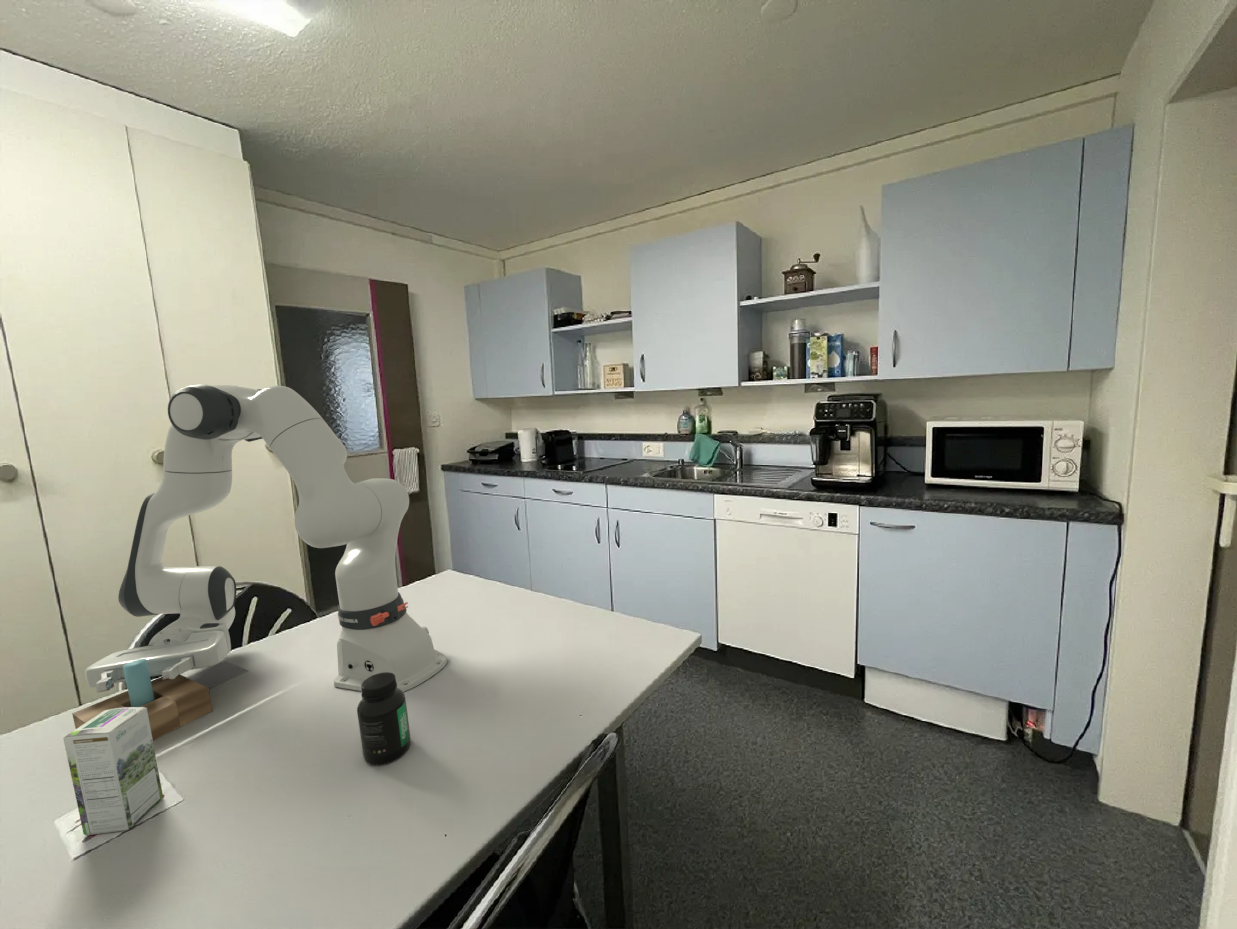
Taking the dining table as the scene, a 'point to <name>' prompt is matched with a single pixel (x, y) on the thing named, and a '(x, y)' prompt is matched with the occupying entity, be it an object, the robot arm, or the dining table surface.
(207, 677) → the mat
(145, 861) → the dining table surface
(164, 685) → the hole block
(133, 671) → the peg
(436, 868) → the dining table surface
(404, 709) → the supplement bottle
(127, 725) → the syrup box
